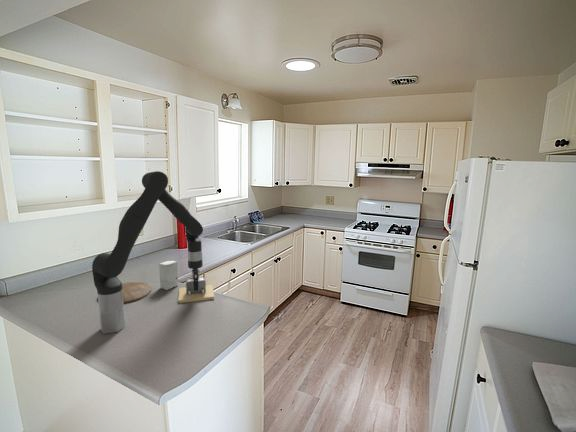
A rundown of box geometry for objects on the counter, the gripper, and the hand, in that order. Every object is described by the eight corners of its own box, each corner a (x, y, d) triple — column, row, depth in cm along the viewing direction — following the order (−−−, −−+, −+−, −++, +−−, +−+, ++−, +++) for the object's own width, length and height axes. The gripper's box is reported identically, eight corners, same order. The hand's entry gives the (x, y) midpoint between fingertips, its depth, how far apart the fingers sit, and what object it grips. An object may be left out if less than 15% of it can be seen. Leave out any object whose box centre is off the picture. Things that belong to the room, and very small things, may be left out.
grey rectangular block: (205, 292, 165) (205, 280, 163) (186, 294, 162) (186, 282, 160) (205, 289, 168) (205, 277, 167) (186, 291, 165) (186, 279, 164)
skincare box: (166, 290, 170) (165, 265, 167) (159, 288, 173) (158, 263, 170) (178, 285, 177) (177, 261, 175) (171, 283, 180) (170, 259, 178)
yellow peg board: (214, 299, 160) (213, 292, 160) (178, 303, 155) (178, 295, 154) (212, 287, 176) (212, 280, 175) (179, 290, 170) (179, 283, 170)
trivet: (93, 293, 165) (93, 290, 164) (141, 281, 182) (141, 278, 182) (107, 310, 147) (106, 306, 147) (158, 294, 165) (158, 291, 165)
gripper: (202, 262, 156) (203, 292, 159) (202, 254, 170) (202, 282, 173) (187, 263, 154) (188, 294, 157) (188, 255, 167) (189, 283, 170)
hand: (196, 288), depth 165 cm, fingers open, 5 cm apart
